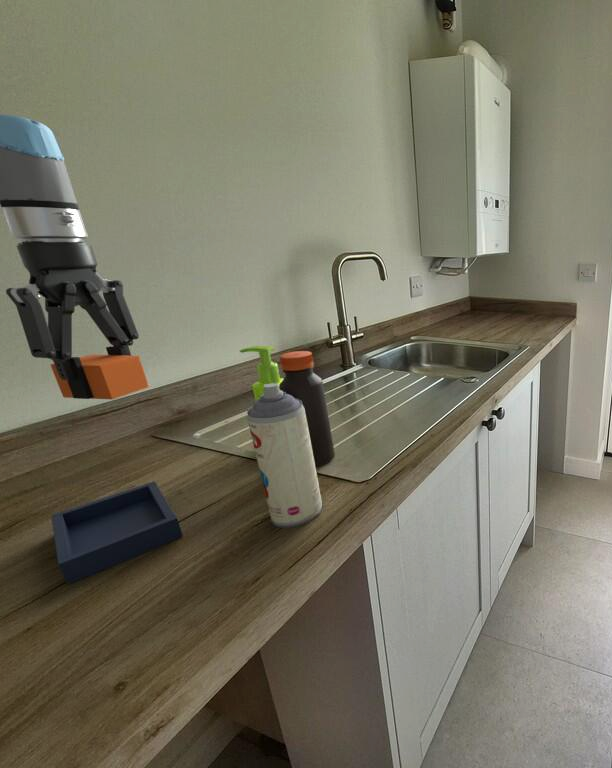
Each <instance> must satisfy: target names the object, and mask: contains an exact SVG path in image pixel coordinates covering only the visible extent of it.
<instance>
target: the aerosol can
mask: <svg viewBox="0 0 612 768" xmlns="http://www.w3.org/2000/svg"><path fill="white" fill-rule="evenodd" d="M263 387H264V393H263V394H262V396H260V397H259V399H258V400H257V401H256V400H255V401H254V403H253V405H251V406H250V407H249V408H248V409H247V410H246V414H247V417H246V419H247V423H248V427H249V432H250V436H251V441H252V444H253V450H254V454H255V457H256V461H257V466H258V470H259V474H260V478H261V483H262V487H263V491H264V495H265V500H266V504H267V508H268V512H269V517H270V520H271V524H272V525H274V526H275V527H279V528H280V529H281V528H283V529H285V528H286V529H290V528H295V527H299V526H302V525H306V524H307V523H309V522H311V521H312V520H313V521H314V520H315V518H317V517H318V516H319V515H320V514H321V513H322V511H323V508H324V507H323V501H322V496H321V490H320V485H319V479H318V474H317V468H316V467H315V462H314V457H313V451H312V446H311V441H310V435H309V430H308V424H307V419H306V414H305V409H304V407H303V405H302V401H301V400H299V399H294V397H293V396H291V395H289V394H286V393H285V392H283V391H282V390H280V389H279V386H278V384H277V383H270V384H266V385H264V386H263Z"/></svg>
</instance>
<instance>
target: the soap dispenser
mask: <svg viewBox="0 0 612 768" xmlns="http://www.w3.org/2000/svg"><path fill="white" fill-rule="evenodd" d="M272 351H275V347H274V346H269V345H253V346H248V347H245V348H242V349H240V350H239V352H240V353H241V354H243V353H249V352H253V353H254V352H255V353H257V352H258V355H259V360H260V363H259V364H257V365H256V373H257V376H258V381H257V382H254V383H253V384H252V391H253V395H254V399H255V402H256V401H257V400H258V399H259V397H260V396H262V394H263V393H264V387H263V386H264V385H266V384H270V383H277V384H278V386H280V383H281V382H282V380H283V379H284V378H285V377H281V376H280V370H279V365H278V363H277V362H274V361H273V360H272V357H271V356H272V355H271V352H272Z"/></svg>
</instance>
